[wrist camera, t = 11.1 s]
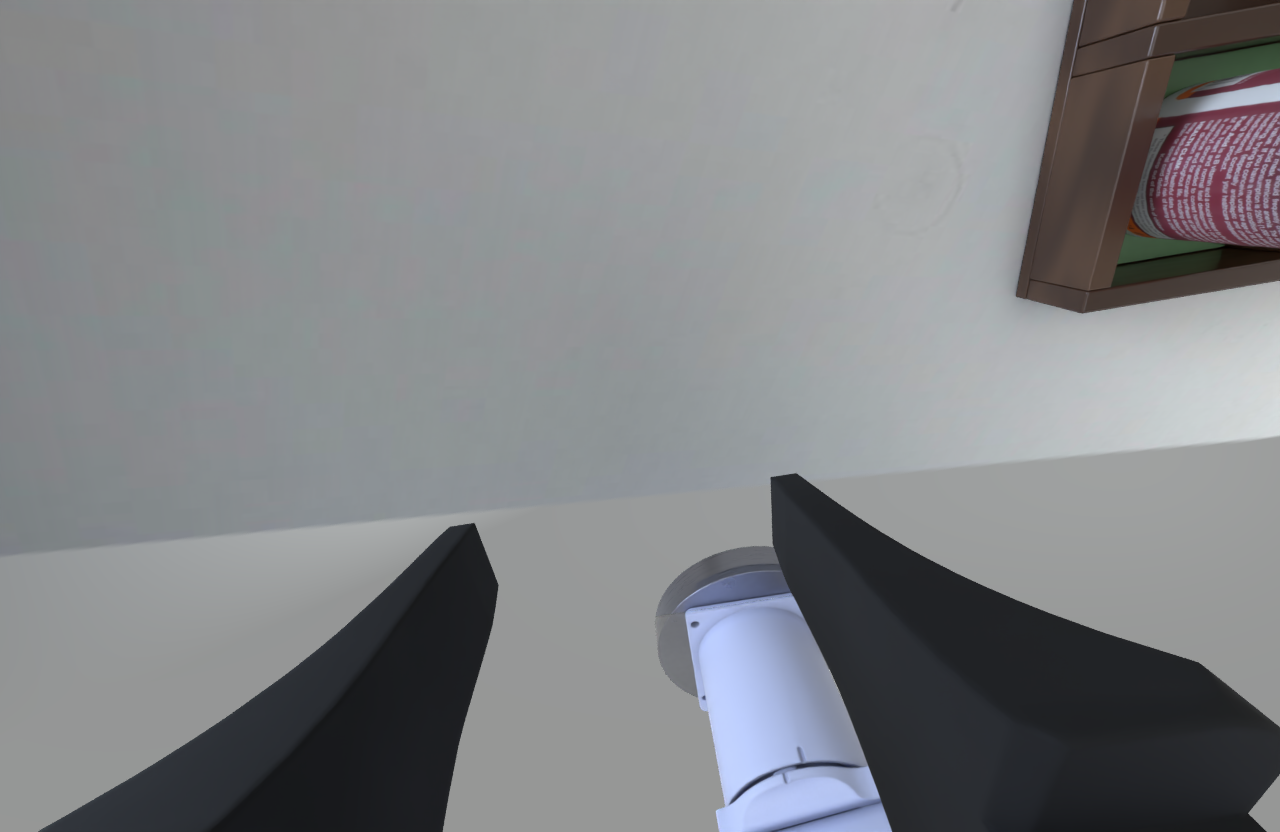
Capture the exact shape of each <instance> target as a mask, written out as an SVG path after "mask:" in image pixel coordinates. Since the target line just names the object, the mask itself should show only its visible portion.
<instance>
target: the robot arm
mask: <svg viewBox="0 0 1280 832" xmlns="http://www.w3.org/2000/svg"><path fill="white" fill-rule="evenodd" d="M771 503H772V532H773V533H772V536H773V546H774V549H775V552H776V554H777V557H778V560H779V563H780V566H781V569H782V571H783V574H784V577H785V580H786V582H787V584H788V586H789V588H790V591H791V593H785V594H779V595H772V596H766V597H759V598H753V599H746V600H740V601H734V602H727V603H721V604H714V605H708V606H701V607H695V608H690V609H688V610H687V611H686V612H685V618H686V624H687V631H688V637H689V643H690V649H691V655H692V661H693V668H694V674H695V680H696V686H697V692H698V698H699V704H700V708H701V709H702V710H703V711H708V713H709V719H710V724H711V730H712V735H713V740H714V746H715V751H716V757H717V763H718V768H719V774H720V779H721V784H722V790H723V795H724V801H725V807H723V808H721V809H718V810H717V811H716V815H717V821H718V827H719V832H1266V831H1265V830H1264V829H1263V828H1262V827H1261V826H1260V825H1259V824H1258V823H1257V822H1256V821H1255V820H1254V819H1253V818H1252V817H1251V816H1250V815H1249V814H1248V813H1249V811H1250V810H1251V809H1252V808H1253V806H1254V805H1255V804H1256V802H1257V801H1258V800H1259V799H1260V798H1261V797H1262V795H1263V794H1264V793H1265V792H1266V790H1267V789H1268V788H1269V787H1270V786H1271V784H1272V783H1273V782H1274V780H1275V779H1276V778H1277V777H1278V776H1279V774H1280V727H1279V726H1278V725H1276V724H1275V723H1274V722H1272V721H1271V720H1270V719H1269V718H1268V717H1266V716H1265V715H1264V714H1263V713H1261V712H1260V711H1259V710H1258V709H1256V708H1255V707H1254V706H1253V705H1251V704H1250V703H1249V702H1248V701H1246V700H1245V699H1244V698H1243V697H1241V696H1240V695H1239V694H1238V693H1237V692H1235V691H1234V690H1232V688H1230V687H1229V686H1228V685H1227V684H1225V683H1224V682H1223V681H1222V680H1220V679H1219V678H1218V677H1217V676H1215V675H1214V674H1213V673H1211V672H1210V671H1209V670H1208V669H1206V668H1205V667H1204V666H1203V665H1201V664H1200V663H1198V662H1195V661H1192V660H1189V659H1186V658H1182V657H1179V656H1176V655H1173V654H1170V653H1166V652H1163V651H1160V650H1157V649H1154V648H1150V647H1147V646H1144V645H1141V644H1137V643H1134V642H1131V641H1128V640H1125V639H1122V638H1118V637H1115V636H1112V635H1109V634H1106V633H1103V632H1100V631H1097V630H1094V629H1091V628H1089V627H1086V626H1083V625H1080V624H1078V623H1075V622H1072V621H1069V620H1067V619H1064V618H1061V617H1058V616H1056V615H1053V614H1050V613H1048V612H1045V611H1043V610H1040V609H1037V608H1035V607H1032V606H1030V605H1027V604H1025V603H1022V602H1020V601H1017V600H1015V599H1013V598H1010V597H1008V596H1006V595H1003V594H1001V593H999V592H996V591H994V590H992V589H989V588H987V587H985V586H982V585H980V584H978V583H976V582H974V581H972V580H969V579H967V578H965V577H963V576H961V575H959V574H956V573H955V572H953V571H951V570H949V569H947V568H945V567H943V566H941V565H939V564H937V563H935V562H933V561H931V560H929V559H927V558H925V557H923V556H921V555H920V554H918V553H916V552H914V551H912V550H911V549H909V548H907V547H905V546H903V545H902V544H900V543H899V542H897V541H895V540H894V539H892V538H890V537H889V536H887V535H885V534H883V533H882V532H880V531H878V530H877V529H875V528H874V527H872V526H871V525H869V524H868V523H866V522H865V521H863V520H862V519H860V518H858V517H857V516H855V515H854V514H853V513H851V512H850V511H848V510H847V509H845V508H844V507H842V506H841V505H839V504H838V503H837V502H835V501H834V500H832V499H831V498H830V497H828V496H827V495H825V494H824V493H823V492H821V491H820V490H819V489H817V488H816V487H814V486H813V485H812V484H810V483H809V482H808V481H806V480H805V479H803V478H802V477H801V476H799V475H798V474H796V473H795V474H789V475H782V476H776V477H771ZM497 592H498V583H497V580H496V578H495V575H494V572H493V570H492V567H491V564H490V562H489V559H488V557H487V554H486V552H485V549H484V546H483V544H482V541H481V539H480V536H479V533H478V531H477V528H476V526H475V524H474V523H471V524H465V525H458V526H452V527H449V528H448V529H447V530H446V531H445V532H443V534H441V535H440V536H439V537H438V538H437V539H436V540H435V541H434V542H433V543H432V544H431V545H430V546H429V547H428V548H427V549H426V550H425V551H424V552H423V553H422V554H421V555H420V556H419V557H418V558H417V559H416V560H415V561H414V562H413V563H412V564H411V565H410V566H409V567H408V568H407V569H406V570H405V571H404V572H403V573H402V574H401V575H400V576H398V578H397V579H396V580H395V581H394V582H393V583H391V584H390V585H389V586H388V587H387V588H386V589H385V590H384V591H383V592H382V593H381V594H380V595H379V596H378V597H377V598H376V599H375V600H373V601H372V602H371V603H370V604H369V605H368V606H367V607H366V608H365V609H364V610H362V611H361V612H360V613H359V614H358V615H357V616H356V617H355V618H354V619H353V620H351V621H350V622H349V623H348V624H347V625H346V626H345V627H344V628H343V629H341V630H340V631H339V632H338V633H337V634H336V635H335V636H333V637H332V638H331V639H330V640H329V641H327V642H326V643H325V644H324V645H323V646H321V647H320V648H319V649H318V650H316V651H315V652H314V653H313V654H311V655H310V656H309V657H308V658H306V659H305V660H304V661H303V662H301V663H300V664H299V665H298V666H296V667H295V668H294V669H293V670H291V671H290V672H289V673H287V674H286V675H285V676H283V677H282V678H281V679H279V680H278V681H276V682H275V683H274V684H272V685H271V686H269V687H268V688H267V689H265V690H264V691H262V692H261V693H260V694H258V695H257V696H255V697H254V698H253V699H251V700H250V701H249V702H247V703H246V704H245V705H243V706H242V707H240V708H239V709H237V710H236V711H235V712H233V713H232V714H230V715H229V716H227V717H226V718H225V719H223V720H222V721H220V722H219V723H217V724H216V725H214V726H213V727H211V728H209V729H208V730H206V731H205V732H204V733H202V734H200V735H199V736H198V737H196V738H194V739H193V740H191V741H190V742H188V743H187V744H185V745H183V746H182V747H180V748H179V749H177V750H175V751H174V752H172V753H171V754H169V755H168V756H166V757H164V758H163V759H161V760H160V761H158V762H156V763H155V764H153V765H152V766H150V767H148V768H147V769H145V770H143V771H142V772H140V773H138V774H137V775H135V776H134V777H132V778H130V779H128V780H127V781H125V782H123V783H121V784H120V785H118V786H116V787H115V788H113V789H111V790H110V791H108V792H106V793H104V794H103V795H101V796H99V797H97V798H96V799H94V800H92V801H90V802H89V803H87V804H85V805H84V806H82V807H80V808H78V809H77V810H75V811H73V812H72V813H70V814H68V815H66V816H65V817H63V818H61V819H59V820H57V821H56V822H54V823H52V824H50V825H48V826H47V827H45V828H43V829H41V830H40V831H39V832H443V826H444V819H445V814H446V808H447V802H448V796H449V791H450V786H451V781H452V776H453V771H454V766H455V760H456V755H457V750H458V745H459V741H460V737H461V733H462V729H463V726H464V722H465V718H466V715H467V712H468V707H469V705H470V701H471V698H472V695H473V691H474V687H475V684H476V680H477V677H478V674H479V670H480V667H481V664H482V661H483V657H484V654H485V650H486V647H487V643H488V639H489V636H490V632H491V628H492V625H493V619H494V613H495V607H496V600H497ZM694 621H696V622H694ZM822 655H823V656H822ZM823 657H824V658H823ZM824 659H825V660H824ZM825 661H826V662H825ZM826 663H827V665H828V667H829V669H830V671H831V673H832V675H833V678H834V680H835V682H836V684H837V687H838V689H839V691H840V694H841V696H842V698H841V696H840V694H839V691H838V689H837V687H836V685H835V682H834V680H833V678H832V676H831V673H830V671H829V669H828V667H827V665H826ZM842 699H843V700H842ZM843 701H844V702H843ZM844 704H845V705H844ZM845 706H846V707H845Z"/></svg>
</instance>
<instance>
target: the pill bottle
mask: <svg viewBox="0 0 1280 832" xmlns="http://www.w3.org/2000/svg"><path fill="white" fill-rule="evenodd" d="M1126 233H1127V234H1129V235H1133V236H1138V237H1150V238H1160V239H1170V240H1183V241H1199V242H1209V243H1221V244H1233V245H1241V246H1259V247H1271V248H1280V68H1278V69H1273V70H1266V71H1261V72H1256V73H1251V74H1245V75H1240V76H1235V77H1230V78H1225V79H1220V80H1216V81H1210V82H1205V83H1200V84H1196V85H1193V86H1190V87H1187V88H1184V89H1182V90H1180V91H1178V92H1176V93H1174V94H1172V95H1170V96H1168V97H1167V98H1165V99H1164V100H1163V103H1162V107H1161V110H1160V114H1159V117H1158V121H1157V124H1156V128H1155V131H1154V135H1153V139H1152V142H1151V146H1150V149H1149V153H1148V156H1147V160H1146V163H1145V167H1144V170H1143V174H1142V178H1141V181H1140V185H1139V188H1138V192H1137V195H1136V199H1135V202H1134V206H1133V209H1132V213H1131V217H1130V220H1129V224H1128V227H1127V231H1126Z"/></svg>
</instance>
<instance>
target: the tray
mask: <svg viewBox="0 0 1280 832" xmlns="http://www.w3.org/2000/svg"><path fill="white" fill-rule="evenodd" d="M1278 68H1280V0H1074V3H1073V8H1072V13H1071V18H1070V23H1069V28H1068V33H1067V39H1066V44H1065V49H1064V54H1063V59H1062V64H1061V69H1060V74H1059V79H1058V84H1057V90H1056V95H1055V100H1054V105H1053V110H1052V115H1051V120H1050V125H1049V130H1048V135H1047V141H1046V146H1045V151H1044V156H1043V161H1042V166H1041V171H1040V176H1039V181H1038V186H1037V192H1036V197H1035V202H1034V207H1033V212H1032V217H1031V222H1030V227H1029V232H1028V237H1027V243H1026V248H1025V253H1024V258H1023V263H1022V268H1021V273H1020V278H1019V283H1018V288H1017V294H1016V296H1017V297H1020V298H1023V299H1029V300H1032V301H1036V302H1040V303H1044V304H1048V305H1052V306H1055V307H1059V308H1063V309H1067V310H1071V311H1075V312H1078V313H1088V312H1094V311H1100V310H1106V309H1112V308H1118V307H1124V306H1130V305H1136V304H1142V303H1148V302H1154V301H1160V300H1166V299H1172V298H1178V297H1184V296H1190V295H1196V294H1202V293H1208V292H1214V291H1220V290H1226V289H1232V288H1238V287H1244V286H1250V285H1256V284H1262V283H1268V282H1274V281H1280V248H1271V247H1259V246H1241V245H1233V244H1221V243H1209V242H1199V241H1183V240H1170V239H1160V238H1150V237H1138V236H1133V235H1129V234H1127V233H1126V231H1127V227H1128V224H1129V220H1130V217H1131V213H1132V209H1133V206H1134V202H1135V199H1136V195H1137V192H1138V188H1139V185H1140V181H1141V178H1142V174H1143V170H1144V167H1145V163H1146V160H1147V156H1148V153H1149V149H1150V146H1151V142H1152V139H1153V135H1154V131H1155V128H1156V124H1157V121H1158V117H1159V114H1160V110H1161V107H1162V103H1163V100H1164V99H1165V98H1167V97H1168V96H1170V95H1172V94H1174V93H1176V92H1178V91H1180V90H1182V89H1184V88H1187V87H1190V86H1193V85H1196V84H1200V83H1205V82H1210V81H1216V80H1220V79H1225V78H1230V77H1235V76H1240V75H1245V74H1251V73H1256V72H1261V71H1266V70H1273V69H1278Z"/></svg>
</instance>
